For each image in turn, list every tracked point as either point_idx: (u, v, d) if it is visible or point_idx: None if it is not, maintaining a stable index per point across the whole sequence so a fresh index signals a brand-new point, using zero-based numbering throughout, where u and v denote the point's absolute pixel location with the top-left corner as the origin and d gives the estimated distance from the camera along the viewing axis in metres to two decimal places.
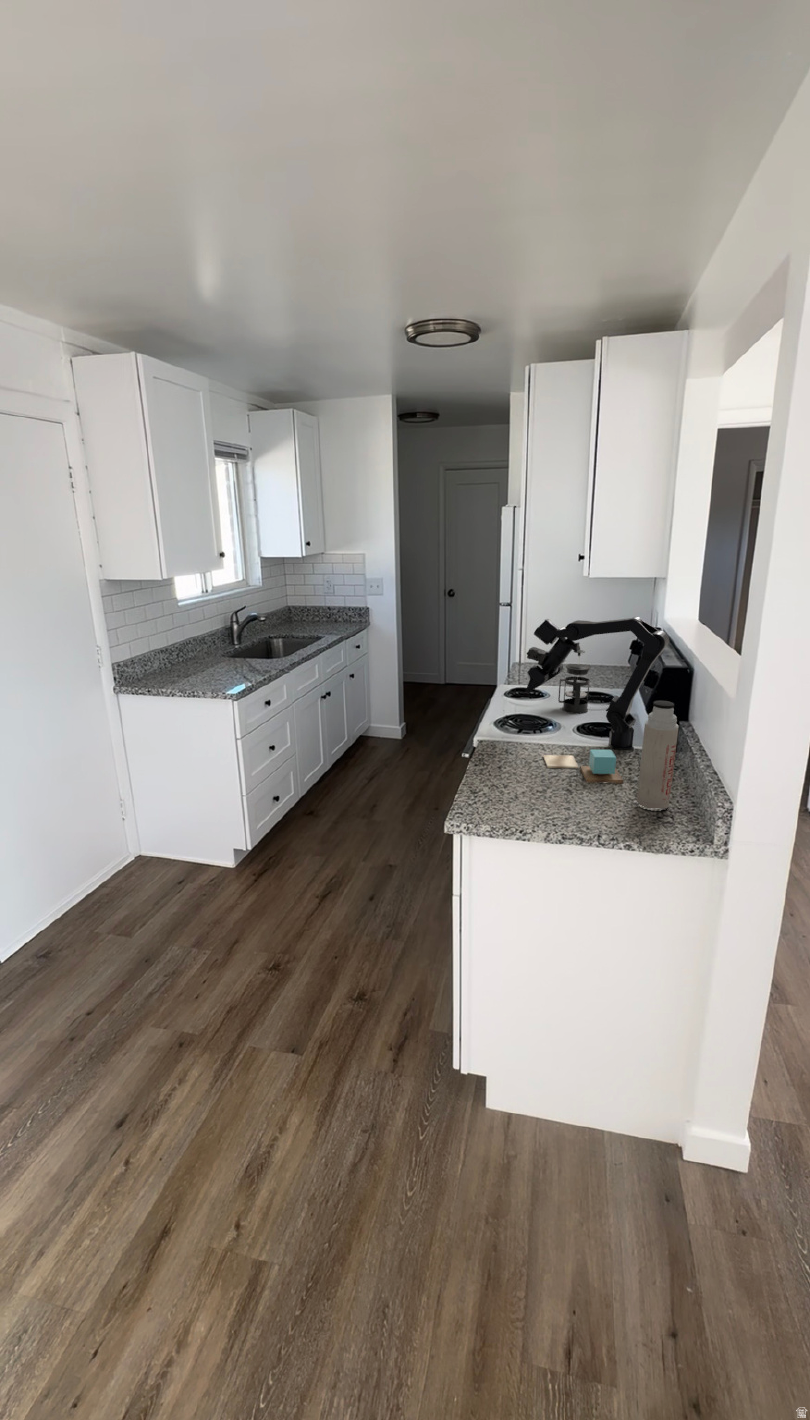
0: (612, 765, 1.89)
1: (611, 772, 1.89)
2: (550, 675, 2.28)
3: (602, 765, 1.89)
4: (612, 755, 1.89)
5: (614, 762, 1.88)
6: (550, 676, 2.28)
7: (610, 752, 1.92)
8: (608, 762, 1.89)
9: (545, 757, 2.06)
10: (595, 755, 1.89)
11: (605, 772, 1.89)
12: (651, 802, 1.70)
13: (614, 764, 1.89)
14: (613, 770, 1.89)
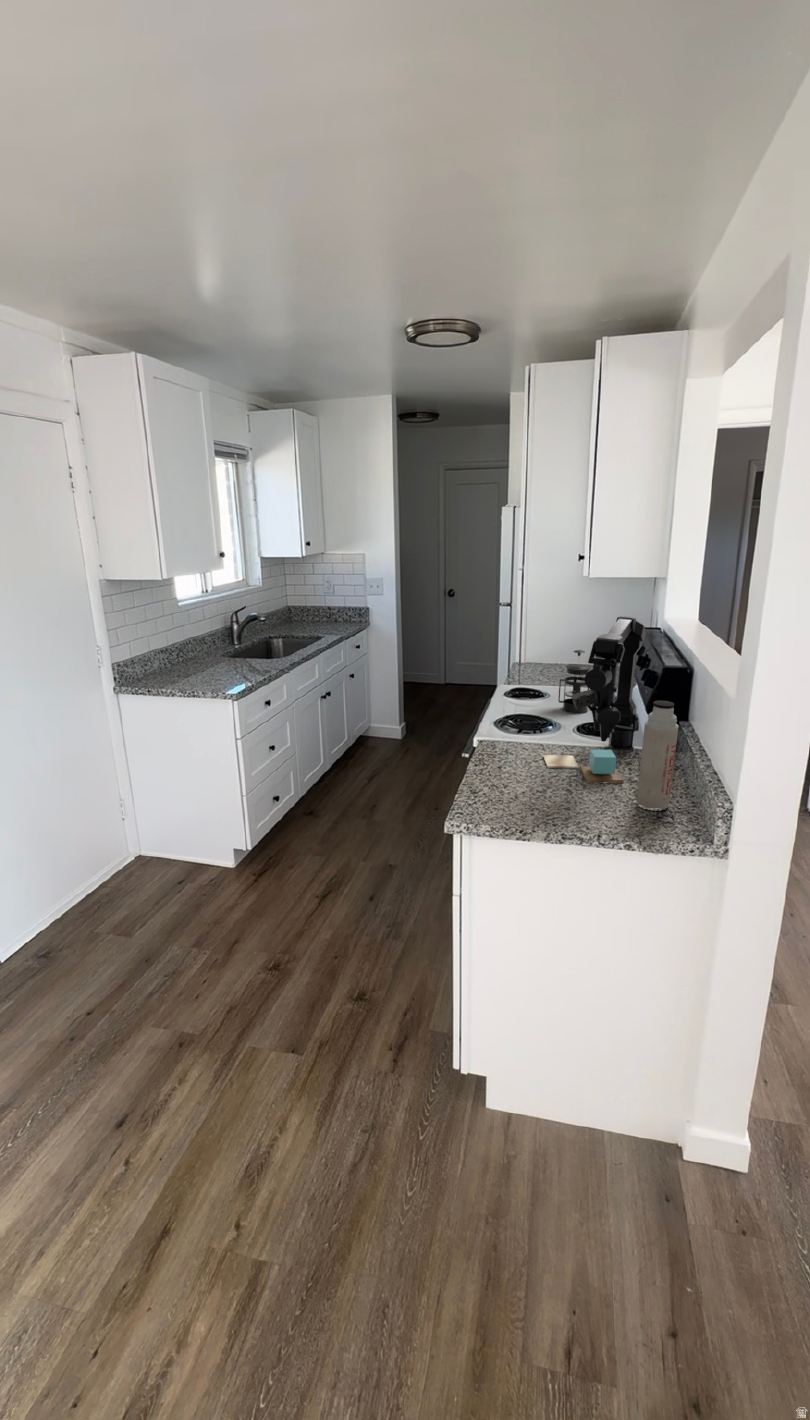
0: (612, 765, 1.89)
1: (611, 772, 1.89)
2: None
3: (602, 765, 1.89)
4: (612, 755, 1.89)
5: (614, 762, 1.88)
6: None
7: (610, 752, 1.92)
8: (608, 762, 1.89)
9: (545, 757, 2.06)
10: (595, 755, 1.89)
11: (605, 772, 1.89)
12: (651, 802, 1.70)
13: (614, 764, 1.89)
14: (613, 770, 1.89)
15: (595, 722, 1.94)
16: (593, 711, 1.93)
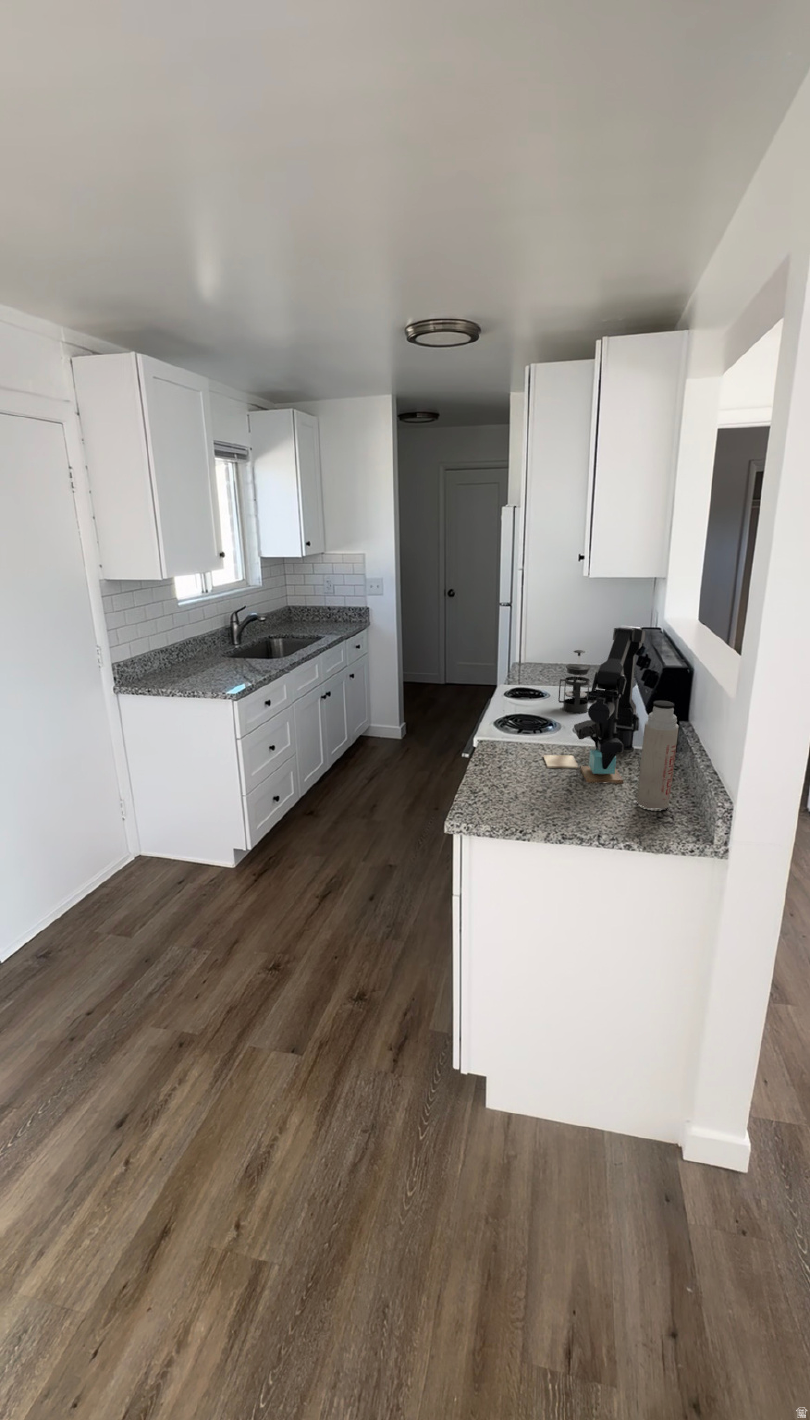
0: (612, 765, 1.89)
1: (611, 772, 1.89)
2: None
3: None
4: None
5: (614, 762, 1.88)
6: None
7: None
8: None
9: (545, 757, 2.06)
10: (595, 755, 1.89)
11: (605, 772, 1.90)
12: (651, 802, 1.70)
13: (614, 764, 1.89)
14: (613, 770, 1.89)
15: None
16: (596, 741, 1.94)
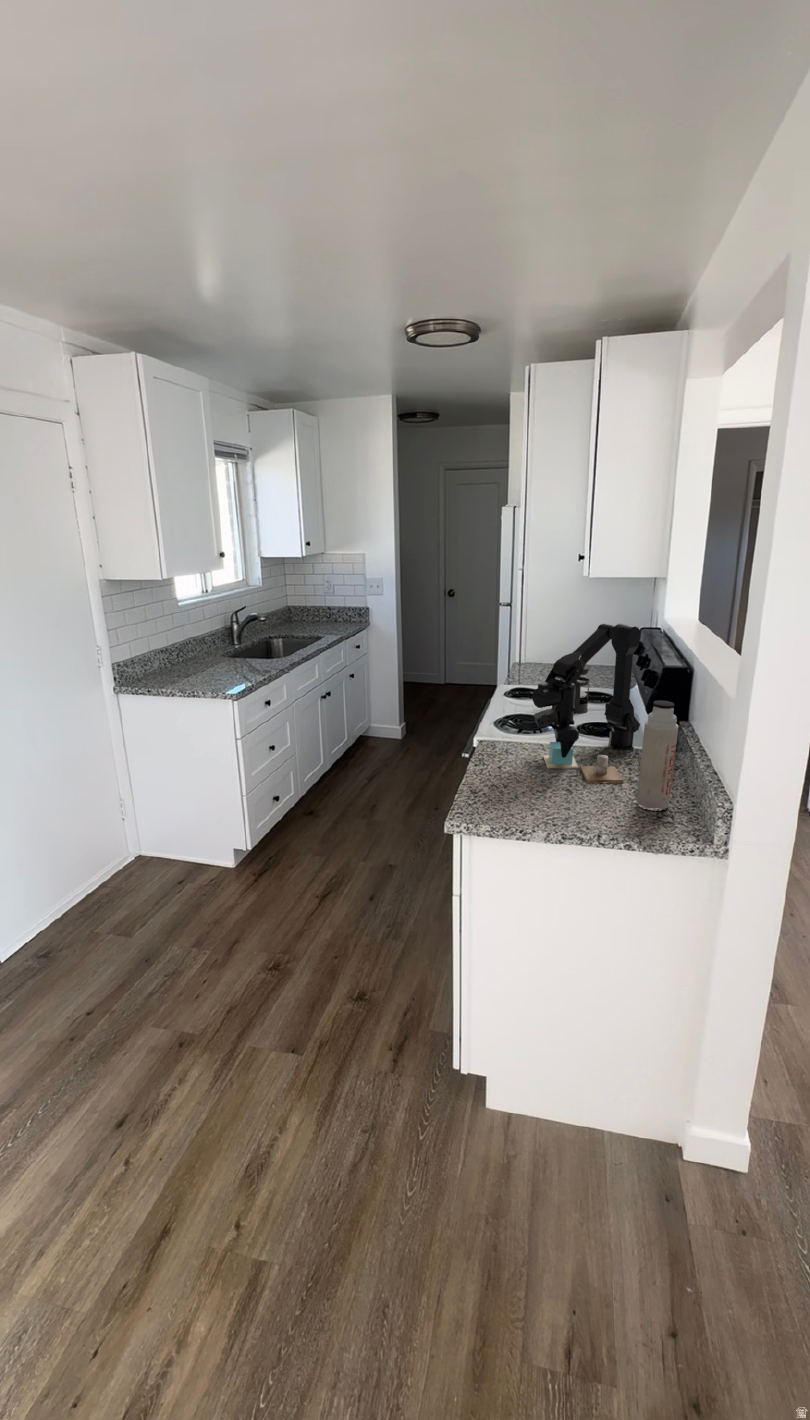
0: (569, 756, 1.99)
1: (569, 763, 2.00)
2: None
3: (560, 756, 1.99)
4: None
5: (571, 753, 1.99)
6: None
7: None
8: None
9: (545, 757, 2.06)
10: (553, 747, 2.00)
11: (563, 763, 2.00)
12: (651, 802, 1.70)
13: (571, 755, 1.99)
14: (570, 761, 2.00)
15: (557, 738, 2.06)
16: (555, 728, 2.05)
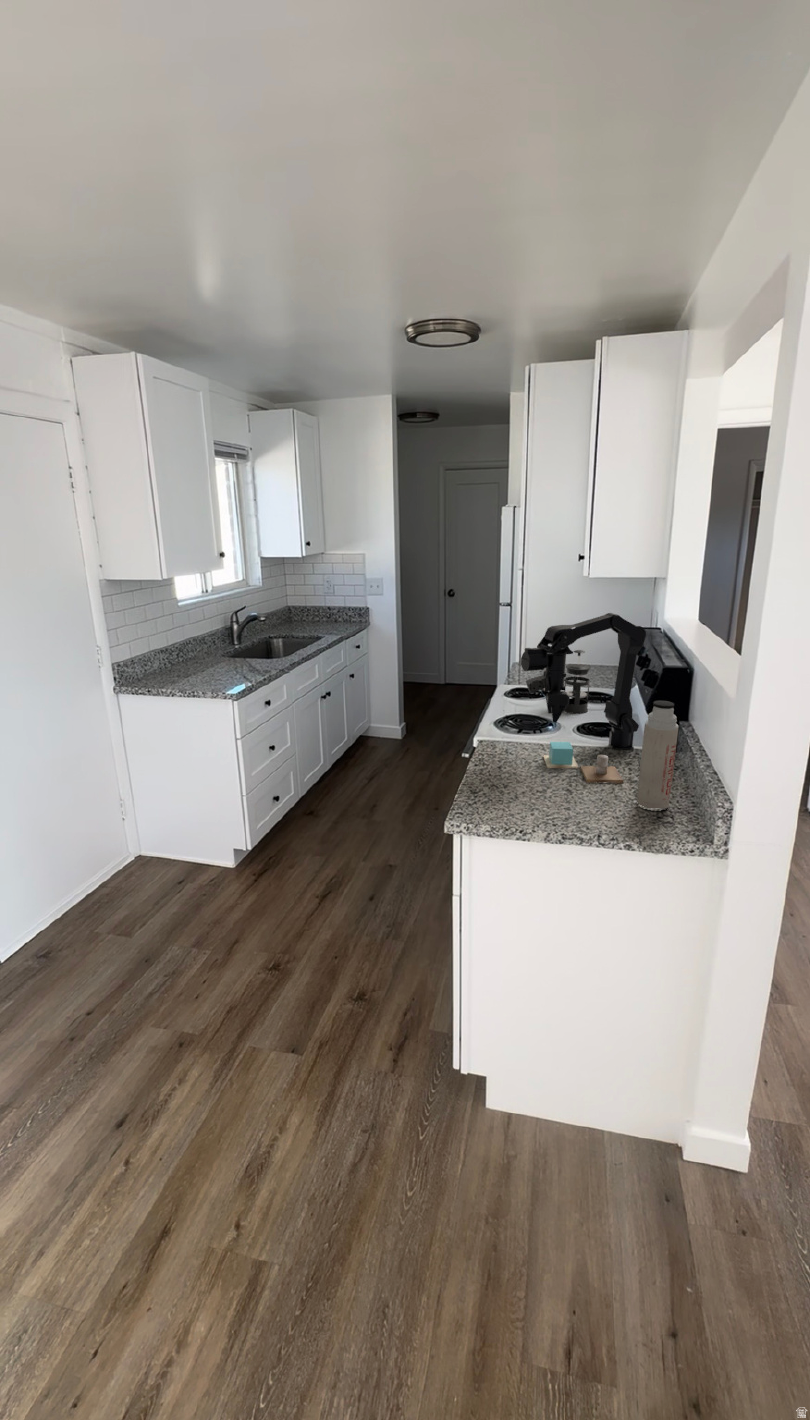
0: (569, 756, 1.99)
1: (569, 763, 2.00)
2: None
3: (560, 756, 1.99)
4: (570, 747, 2.00)
5: (571, 753, 1.99)
6: None
7: (568, 744, 2.02)
8: (566, 753, 1.99)
9: (545, 757, 2.06)
10: (553, 747, 2.00)
11: (563, 763, 2.00)
12: (651, 802, 1.70)
13: (571, 755, 1.99)
14: (570, 761, 2.00)
15: (548, 705, 2.10)
16: (546, 695, 2.09)
